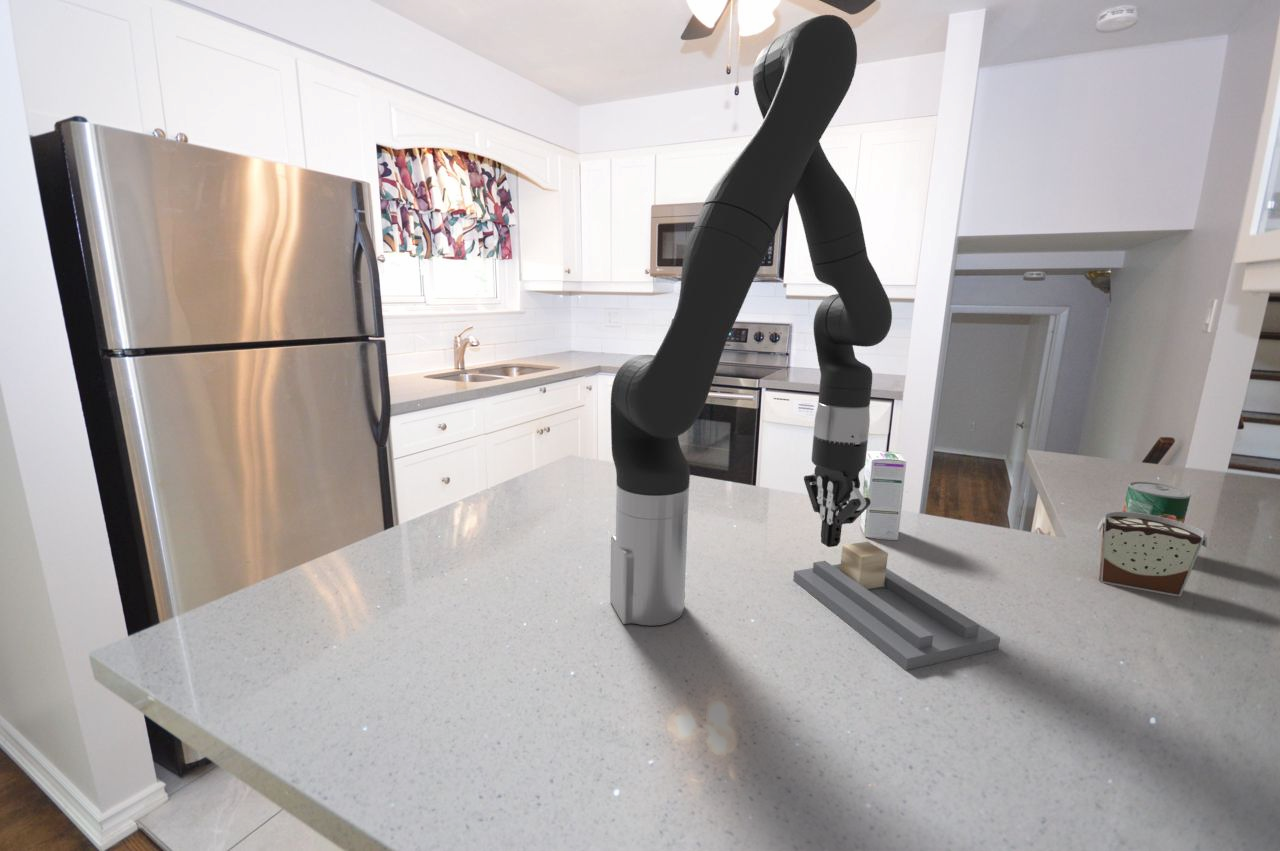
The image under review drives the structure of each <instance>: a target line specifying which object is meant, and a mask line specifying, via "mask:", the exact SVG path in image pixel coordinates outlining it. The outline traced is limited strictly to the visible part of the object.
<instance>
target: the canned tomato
mask: <svg viewBox="0 0 1280 851" xmlns="http://www.w3.org/2000/svg"><path fill="white" fill-rule="evenodd" d="M1191 497H1192V494H1191V493H1190V492H1189V491H1188V490H1185V489H1182V488H1180V487H1177V486H1176V487H1175V486H1172V485H1168V484H1163V483H1159V482H1157V483H1156V482H1152V481H1151V482H1149V481H1131V482H1129V483H1128V487H1127V492H1126V497H1125V501H1124V505H1123V510H1122V512H1135V513H1142V514H1149V515H1154V516H1159V517H1164V518H1168V519H1172V520H1175V521H1179V522H1182V523H1185V520H1186V516H1187V513H1188V507H1189V504H1190V501H1191V500H1190V498H1191Z"/></svg>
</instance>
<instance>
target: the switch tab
mask: <svg viewBox="0 0 1280 851" xmlns="http://www.w3.org/2000/svg"><path fill="white" fill-rule="evenodd" d="M840 556H841V557H840V558H841V559H840V563H839V564H840V571H841V572H842V573H844V574H845V575H847V576H848V577H850V578H851V579H853V580H854V581H856V582H857V583H859V584H860V585H861V586H863V587H864V588H866V589H872V588H878V587H884V582H885V574H886V568H887V566H888V558H889V553H888V551H885V550H884V549H882V548H880V547H878V546H877V545H875V544H873V543H871V542H870V541H863V542H857V543H849V544H842V547H841V555H840Z"/></svg>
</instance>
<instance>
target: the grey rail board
mask: <svg viewBox="0 0 1280 851" xmlns="http://www.w3.org/2000/svg"><path fill="white" fill-rule="evenodd" d="M840 564H841V563H837V564H831V563H829V562H828V561H826V560H821V561H820V560H819V561H815V562H814V561H813V564H812V567H811V568H806V569H799V570H798V569H797V570H794V571H793V581H794V582H795V583H796V584H797V585H798V586H800V587H801V588H802V589H803V590H805V591H806V592H807V593H808V594H810V595H811V596H812V597H813V598H815V599H816V600H817V601H818V602H820V603H821V605H823V606H824V607H826V608H828V610H829V611H831V612H832V613H833V614H835V615H836V616H837V617H838V618H840V619H841V620H842V621H844V623H846V624H847V625H848V626H849V627H851V628H852V629H854V630H855V631H856V632H857V633H858V634H860V635H861V636H862V637H864V638H865V639H866V640H867V641H868V642H870V643H871V644H873V646H875V647H876V648H877V649H878V650H879V651H881V652H882V653H884V655H886V656H887V657H888V658H890V659H891V660H892V661H893V662H894V663H896V664H897V665H898V666H900V667H901V668H902V669H903V670H905V671H909V670H914V669H918V668H922V667H926V666H927V667H928V666H930V665H934V664H939V663H943V662H947V661H951V660H955V659H960V658H964V657H968V656H969V657H970V656H972V655H977V654H981V653H985V652H989V651H993V650H997V649H999V648H1000V641H1001V637H1000V636H999V635H997V634H996V633H995V632H992V631H991V630H989V629H987V628H986V627H984V626H982V625H981V624H979V622H976V621H974V620H973V619H971V618H969V617H968V616H966V615H965V614H962V613H961V612H959V611H958V610H956V609H955V608H953V607H951V606H949V605H948V604H947V603H945V602H943V601H942V600H940V599H938V598H937V597H935V596H934V595H932V594H930V593H929V592H927V591H925V590H923V589H922V588H920V587H919V586H917V585H915V584H913V583H911V582H910V581H908V580H907V579H905V578H903V577H902V576H900V575H898V574H897V573H895V572H893V571H892V570H891V569H889V568H887V567H886V574H885V582H884V587H878V588H872V589H866V588H864V587H863V586H861V585H860V584H859V583H857V582H856V581H854V580H853V579H851V578H850V577H848V576H847V575H845V574H844V573H842V572H841V571H840Z"/></svg>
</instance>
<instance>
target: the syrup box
mask: <svg viewBox="0 0 1280 851" xmlns="http://www.w3.org/2000/svg"><path fill="white" fill-rule="evenodd" d="M906 469H907V461H906V460H905V458H904V457H903V456H902V455H901V454H900V453H899V452H893V451H885V450H884V451H881V450H877V451H876V450H875V451H874V450H872V451H868V450H867V452H866V461H865V466H864V475H863V476H864V477H863V490H862V496H863V498H869V499H870V505H869V506H868V507H867V509H866V510H865V511H864V512H863V513H862V514H861V515H860V516H859V517H860V520H859V527H860V529H861V531H862V534H863V536H864V537H865V538H871V539H878V540H889V541H898V540H899V533H900V532H899V531H900V524H901V518H902V517H901V516H902V510H903V509H902V508H903V497H904V489H905V488H904V486H905V477H906Z"/></svg>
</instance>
